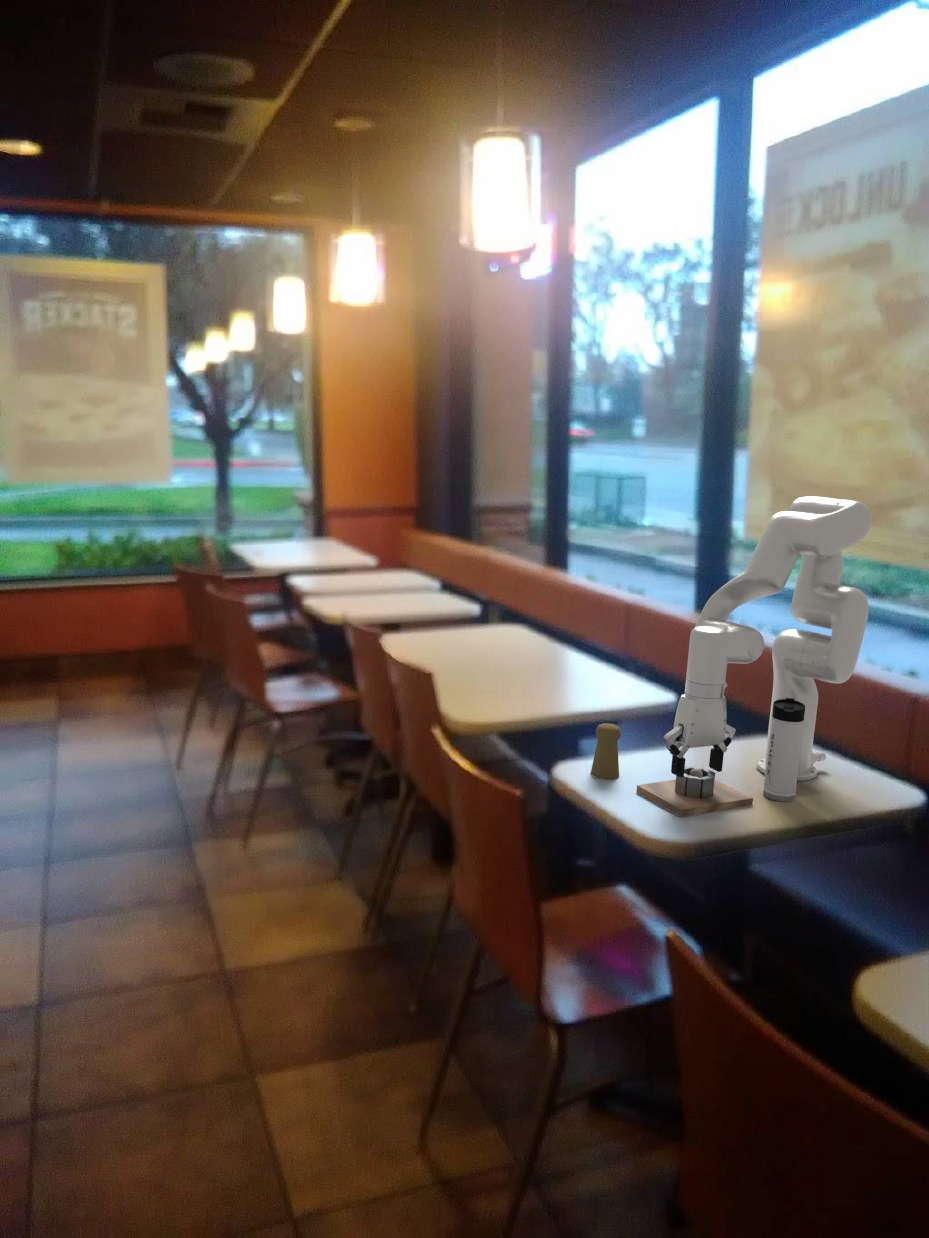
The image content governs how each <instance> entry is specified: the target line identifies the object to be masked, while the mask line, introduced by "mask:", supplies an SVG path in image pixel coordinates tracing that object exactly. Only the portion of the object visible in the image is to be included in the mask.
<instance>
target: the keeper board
mask: <svg viewBox="0 0 929 1238" xmlns="http://www.w3.org/2000/svg"><path fill="white" fill-rule="evenodd" d="M689 776H695V777H703V773H702V771H701V770H700V769H698V768H694V769H692V770H691V771H690V775H689ZM675 783H676V779H670V780H663V781H658V782H657V781H656V782H649V783H648V782H647V783H643V784H636V793H637V794H639V795H640V796H643V797H644V798H646V799H648V800H650V801H651V802H653V803H655V804H657V805H659V806H661V807H663V808H664V809H666V810H668V811H669V812H671V813H673V814H675V815H676V816H678V817H680V818H682V817H683V818H684V817H689V816H690V817H691V816H696V815H702V814H707V813H713V812H718V811H725V810H732V809H737V808H742V807H749V806H753V803H754V797H752V796H750V795H748V794H746V793H743V792H742V791H740V790H738V789H736V788H734V787H732V786H730V785H727V784H726V783H723V782H721V781H720V780H717V779H715V782H714V791H713V797H709V798H703V799H701V798H700V799H698V798H691V797H686V796H683V795H681V794H679V793H677V792H675Z"/></svg>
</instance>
